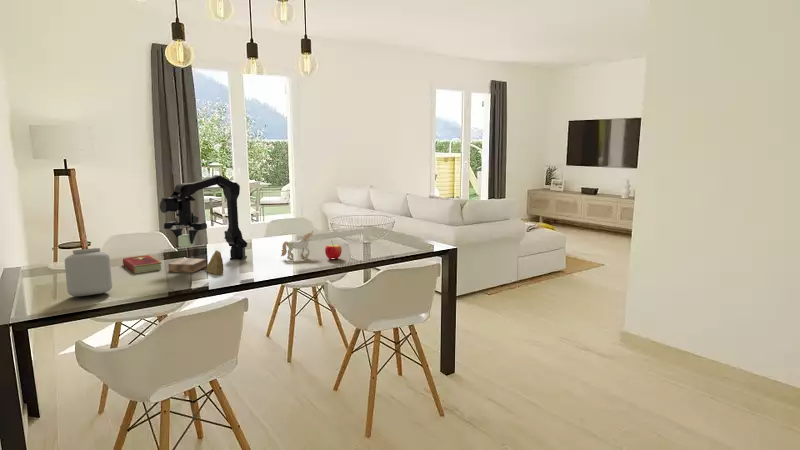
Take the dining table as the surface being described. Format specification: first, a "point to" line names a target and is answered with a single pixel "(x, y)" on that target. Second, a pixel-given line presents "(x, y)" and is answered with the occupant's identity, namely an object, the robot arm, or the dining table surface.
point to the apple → (333, 251)
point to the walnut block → (187, 265)
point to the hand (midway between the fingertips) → (186, 243)
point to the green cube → (184, 241)
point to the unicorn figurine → (297, 246)
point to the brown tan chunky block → (215, 264)
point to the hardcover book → (142, 264)
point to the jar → (88, 272)
